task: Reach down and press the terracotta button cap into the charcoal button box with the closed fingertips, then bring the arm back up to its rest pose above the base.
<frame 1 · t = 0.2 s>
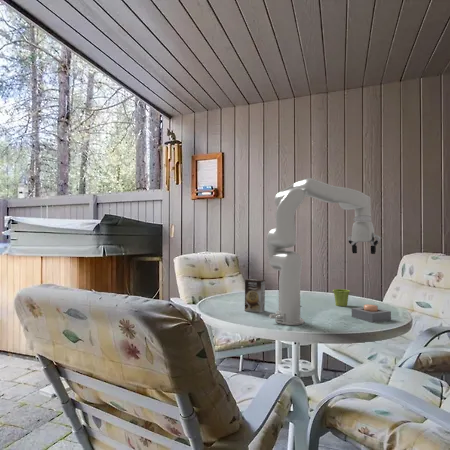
hand: (363, 253, 160), 30 cm above the table, tool pointing down, fingers open, 9 cm apart
plant pot: (341, 306, 180), on the table
push button: (370, 308, 149), point 5 cm above the table, slide at 0.0 cm
coffee box: (254, 311, 164), on the table
button box: (370, 318, 149), on the table
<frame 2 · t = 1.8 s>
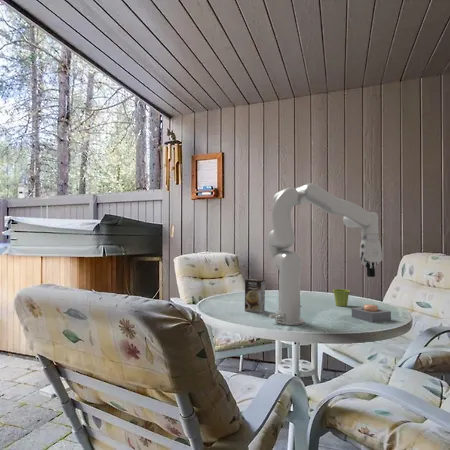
hand: (371, 276, 150), 20 cm above the table, tool pointing down, fingers closed
nothing on the table moved.
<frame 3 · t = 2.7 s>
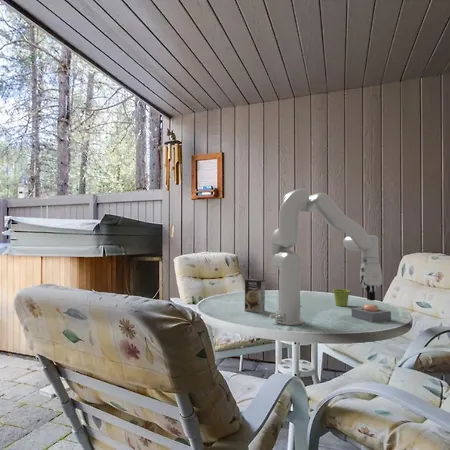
hand: (371, 299, 150), 9 cm above the table, tool pointing down, fingers closed
nothing on the table moved.
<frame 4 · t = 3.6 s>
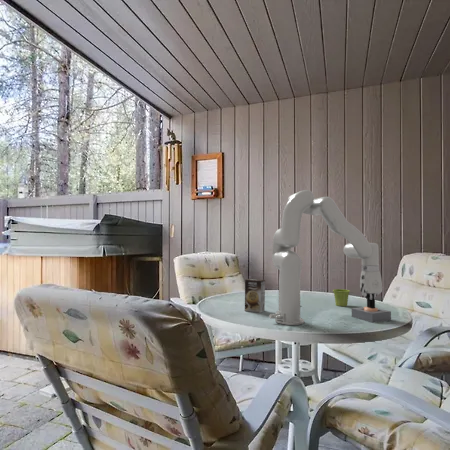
hand: (371, 307, 149), 5 cm above the table, tool pointing down, fingers closed
push button: (370, 311, 149), point 3 cm above the table, slide at 1.0 cm, touching gripper
everything else where it was.
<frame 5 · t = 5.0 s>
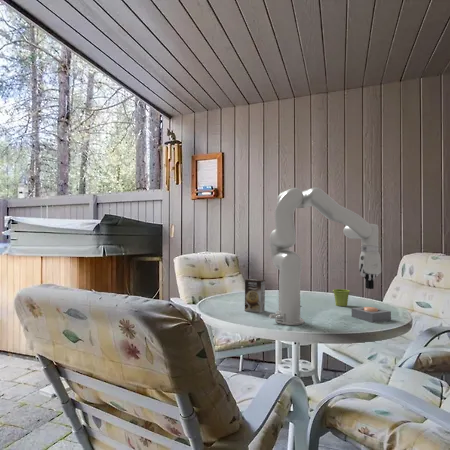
hand: (369, 288, 150), 14 cm above the table, tool pointing down, fingers closed
push button: (370, 311, 149), point 3 cm above the table, slide at 1.2 cm
everything else where it was.
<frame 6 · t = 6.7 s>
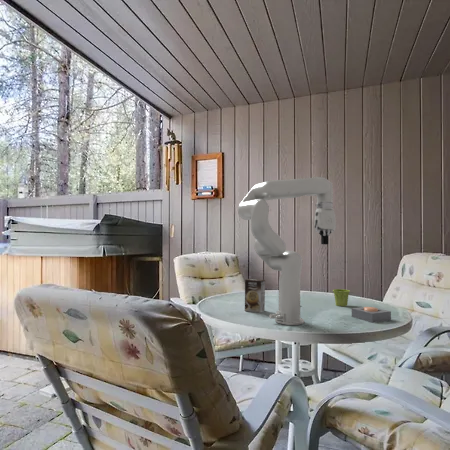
hand: (324, 244, 154), 35 cm above the table, tool pointing down, fingers closed
nothing on the table moved.
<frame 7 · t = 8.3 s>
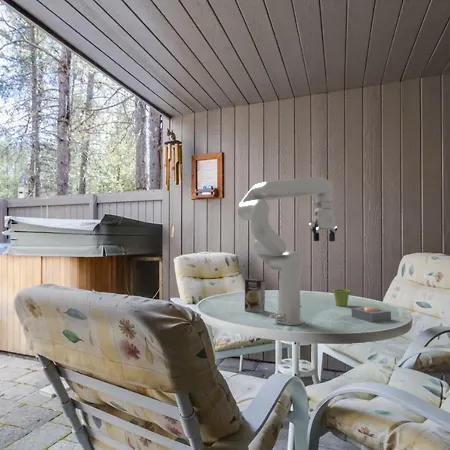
hand: (324, 241, 154), 36 cm above the table, tool pointing down, fingers open, 9 cm apart
nothing on the table moved.
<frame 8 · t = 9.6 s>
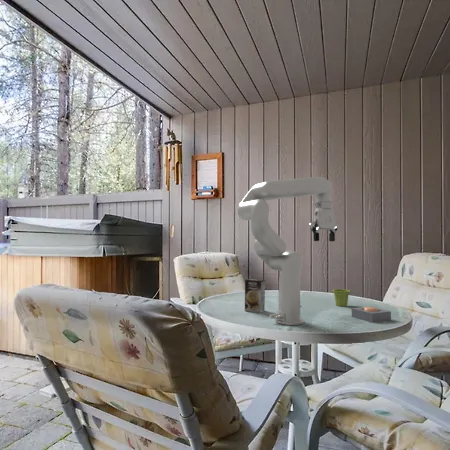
hand: (324, 241, 154), 36 cm above the table, tool pointing down, fingers open, 9 cm apart
nothing on the table moved.
at the end: push button slide at 1.2 cm; coffee box moved 0.2 cm from its start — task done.
